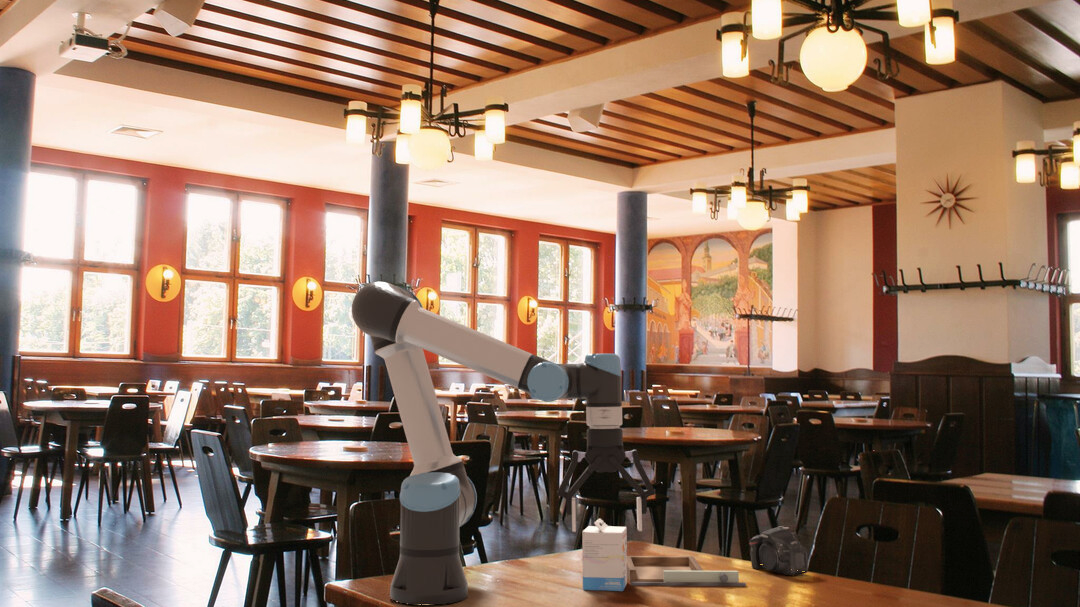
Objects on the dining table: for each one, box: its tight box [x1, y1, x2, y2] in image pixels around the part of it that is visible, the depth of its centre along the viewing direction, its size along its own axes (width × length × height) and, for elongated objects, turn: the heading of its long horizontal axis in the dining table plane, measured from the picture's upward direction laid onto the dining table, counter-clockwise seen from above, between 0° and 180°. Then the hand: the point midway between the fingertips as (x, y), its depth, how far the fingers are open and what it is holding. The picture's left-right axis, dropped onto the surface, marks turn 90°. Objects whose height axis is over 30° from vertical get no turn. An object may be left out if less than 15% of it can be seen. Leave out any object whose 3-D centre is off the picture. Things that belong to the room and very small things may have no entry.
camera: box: [749, 525, 809, 576], centre depth 198 cm, size 13×10×10 cm
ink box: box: [581, 518, 628, 592], centre depth 184 cm, size 9×8×13 cm
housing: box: [627, 555, 747, 587], centre depth 193 cm, size 24×18×3 cm
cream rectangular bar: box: [664, 570, 740, 583], centre depth 185 cm, size 15×2×3 cm, turn 89°
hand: (606, 530), depth 185 cm, fingers open, 13 cm apart
